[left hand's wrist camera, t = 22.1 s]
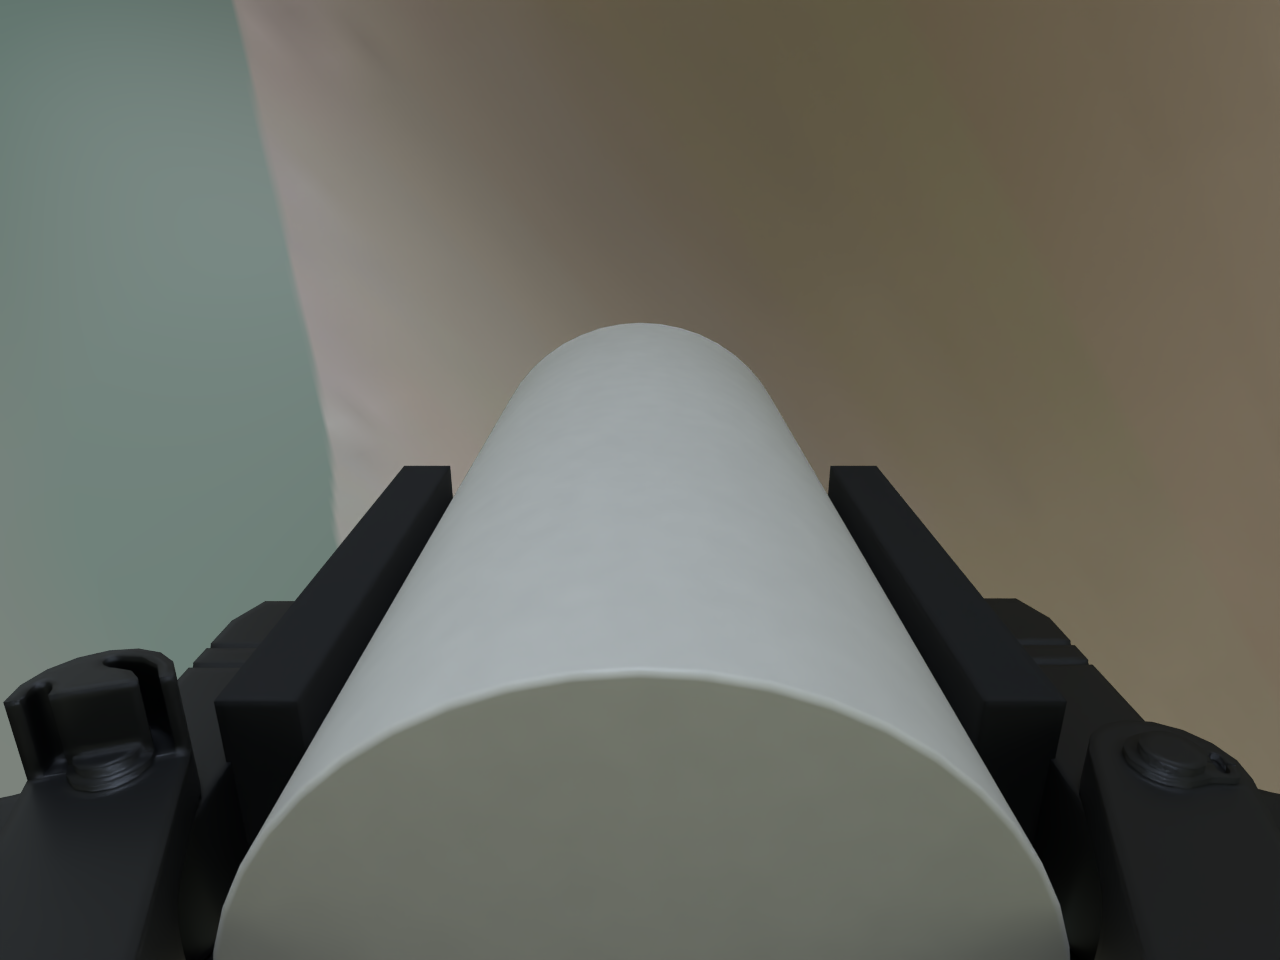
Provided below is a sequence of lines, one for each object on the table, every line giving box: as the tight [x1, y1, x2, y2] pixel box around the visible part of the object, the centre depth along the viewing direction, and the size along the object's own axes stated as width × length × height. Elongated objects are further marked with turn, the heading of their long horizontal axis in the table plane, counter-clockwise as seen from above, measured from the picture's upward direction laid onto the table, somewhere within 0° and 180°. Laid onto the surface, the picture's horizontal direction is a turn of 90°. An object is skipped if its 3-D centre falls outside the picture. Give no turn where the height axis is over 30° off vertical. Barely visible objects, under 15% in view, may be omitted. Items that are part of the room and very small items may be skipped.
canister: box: [213, 323, 1070, 960], centre depth 12 cm, size 6×6×13 cm
